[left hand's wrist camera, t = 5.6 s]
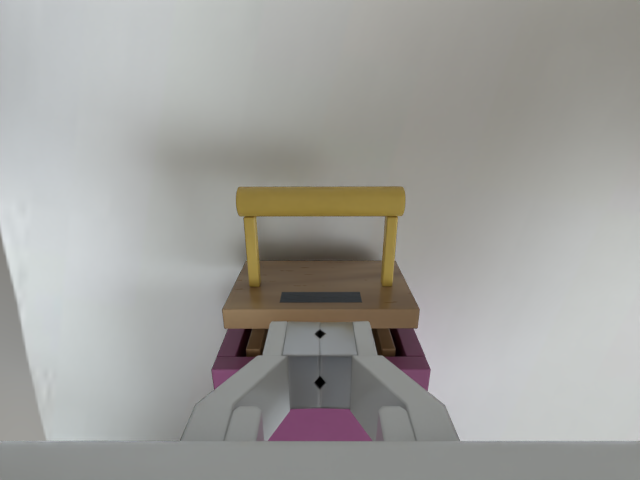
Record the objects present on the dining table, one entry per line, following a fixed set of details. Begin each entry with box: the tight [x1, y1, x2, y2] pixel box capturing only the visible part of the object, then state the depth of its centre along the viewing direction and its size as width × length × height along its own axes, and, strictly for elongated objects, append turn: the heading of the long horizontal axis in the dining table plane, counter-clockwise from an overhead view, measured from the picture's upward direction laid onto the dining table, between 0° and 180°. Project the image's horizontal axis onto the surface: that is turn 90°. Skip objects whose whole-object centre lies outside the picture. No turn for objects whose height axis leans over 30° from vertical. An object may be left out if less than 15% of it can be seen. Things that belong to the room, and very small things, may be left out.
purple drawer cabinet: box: [211, 328, 431, 441], centre depth 25 cm, size 20×11×8 cm, turn 0°
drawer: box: [222, 186, 420, 357], centre depth 23 cm, size 24×10×6 cm, turn 0°
